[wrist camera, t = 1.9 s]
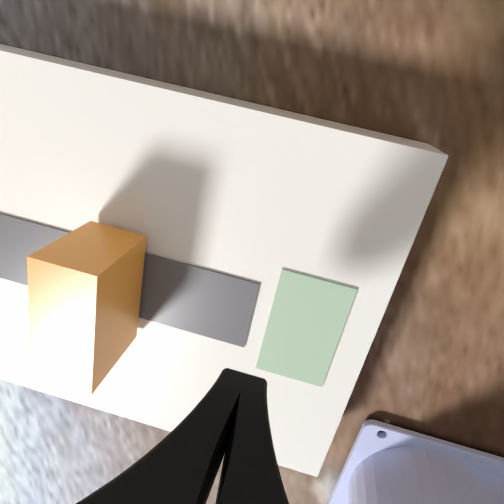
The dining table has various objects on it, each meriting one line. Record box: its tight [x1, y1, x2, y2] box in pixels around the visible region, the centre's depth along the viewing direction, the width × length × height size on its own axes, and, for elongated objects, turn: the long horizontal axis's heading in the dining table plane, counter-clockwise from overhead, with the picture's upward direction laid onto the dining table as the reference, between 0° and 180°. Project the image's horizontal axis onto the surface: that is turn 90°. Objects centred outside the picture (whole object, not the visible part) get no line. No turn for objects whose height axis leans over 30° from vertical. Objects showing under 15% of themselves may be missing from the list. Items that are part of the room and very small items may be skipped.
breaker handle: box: [27, 221, 147, 395], centre depth 15 cm, size 2×5×4 cm, turn 168°
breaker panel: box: [0, 44, 448, 477], centre depth 18 cm, size 22×16×3 cm
